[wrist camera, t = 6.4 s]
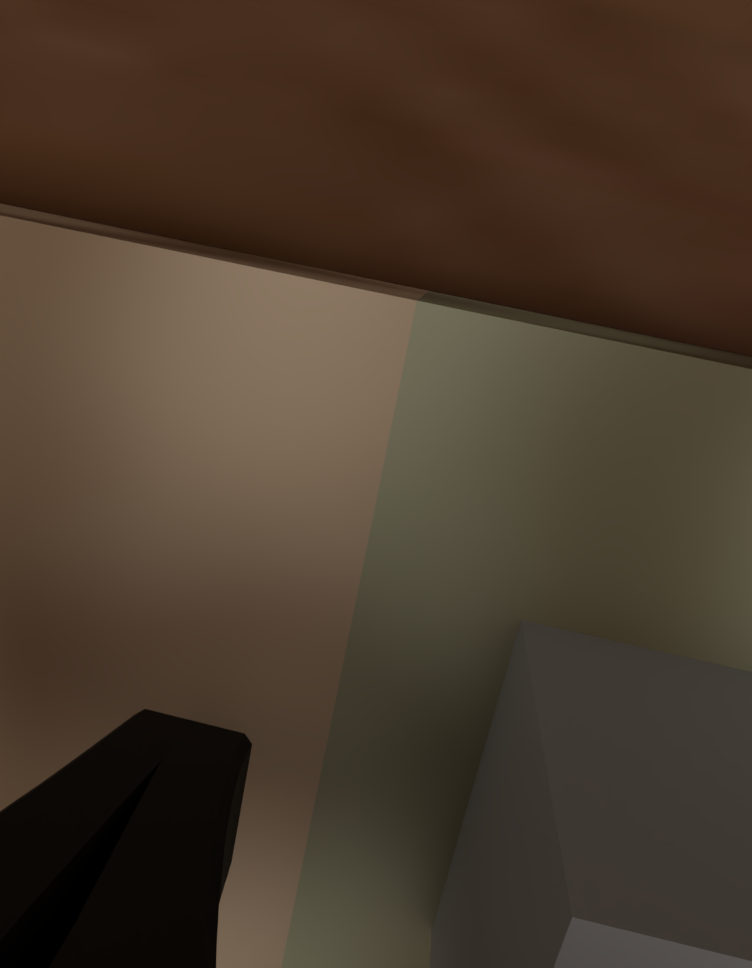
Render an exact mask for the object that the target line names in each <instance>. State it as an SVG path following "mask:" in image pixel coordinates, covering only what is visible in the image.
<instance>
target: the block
mask: <svg viewBox="0 0 752 968" xmlns="http://www.w3.org/2000/svg"><path fill="white" fill-rule="evenodd" d="M430 968H752V672H749V671H745V670H740V669H736V668H731V667H727V666H723V665H718V664H714V663H709V662H705V661H700V660H696V659H692V658H687V657H683V656H678V655H674V654H669V653H665V652H661V651H656V650H652V649H647V648H643V647H638V646H634V645H630V644H625V643H621V642H616V641H612V640H607V639H603V638H599V637H594V636H590V635H585V634H581V633H576V632H572V631H568V630H563V629H559V628H554V627H550V626H545V625H541V624H537V623H532V622H528V621H523V620H521V622H520V625H519V629H518V632H517V636H516V639H515V643H514V646H513V650H512V653H511V657H510V660H509V664H508V667H507V670H506V674H505V677H504V681H503V684H502V688H501V691H500V695H499V698H498V702H497V705H496V709H495V712H494V715H493V719H492V722H491V726H490V729H489V733H488V736H487V740H486V743H485V747H484V750H483V754H482V757H481V761H480V764H479V767H478V771H477V774H476V778H475V781H474V785H473V788H472V792H471V795H470V799H469V802H468V806H467V809H466V812H465V816H464V819H463V823H462V826H461V830H460V833H459V837H458V840H457V844H456V847H455V851H454V854H453V858H452V861H451V864H450V868H449V871H448V875H447V878H446V882H445V885H444V889H443V892H442V896H441V899H440V903H439V906H438V909H437V913H436V916H435V920H434V923H433V927H432V930H431V952H430Z"/></svg>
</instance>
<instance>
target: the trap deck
mask: <svg viewBox="0 0 752 968" xmlns="http://www.w3.org/2000/svg"><path fill="white" fill-rule="evenodd" d="M521 620H523V621H528V622H532V623H537V624H541V625H545V626H550V627H554V628H559V629H563V630H568V631H572V632H576V633H581V634H585V635H590V636H594V637H599V638H603V639H607V640H612V641H616V642H621V643H625V644H630V645H634V646H638V647H643V648H647V649H652V650H656V651H661V652H665V653H669V654H674V655H678V656H683V657H687V658H692V659H696V660H700V661H705V662H709V663H714V664H718V665H723V666H727V667H731V668H736V669H740V670H745V671H749V672H752V357H751V356H746V355H741V354H736V353H731V352H726V351H722V350H717V349H712V348H707V347H702V346H697V345H692V344H687V343H682V342H677V341H672V340H668V339H663V338H658V337H653V336H648V335H643V334H638V333H633V332H628V331H623V330H619V329H614V328H609V327H604V326H599V325H594V324H589V323H584V322H579V321H574V320H570V319H565V318H560V317H555V316H550V315H545V314H540V313H535V312H530V311H525V310H521V309H516V308H511V307H506V306H501V305H496V304H491V303H486V302H481V301H476V300H471V299H467V298H462V297H457V296H452V295H447V294H442V293H437V292H432V291H427V290H422V289H418V288H413V287H408V286H403V285H398V284H393V283H388V282H383V281H378V280H373V279H369V278H364V277H359V276H354V275H349V274H344V273H339V272H334V271H329V270H324V269H320V268H315V267H310V266H305V265H300V264H295V263H290V262H285V261H280V260H275V259H270V258H266V257H261V256H256V255H251V254H246V253H241V252H236V251H231V250H226V249H221V248H217V247H212V246H207V245H202V244H197V243H192V242H187V241H182V240H177V239H172V238H168V237H163V236H158V235H153V234H148V233H143V232H138V231H133V230H128V229H123V228H118V227H114V226H109V225H104V224H99V223H94V222H89V221H84V220H79V219H74V218H69V217H65V216H60V215H55V214H50V213H45V212H40V211H35V210H30V209H25V208H20V207H16V206H11V205H6V204H1V203H0V811H1V810H3V809H4V808H6V807H7V806H8V805H10V804H11V803H13V802H14V801H16V800H17V799H19V798H20V797H22V796H23V795H24V794H26V793H27V792H29V791H30V790H32V789H33V788H35V787H36V786H37V785H39V784H40V783H42V782H43V781H45V780H46V779H47V778H49V777H50V776H52V775H53V774H54V773H56V772H57V771H59V770H60V769H61V768H63V767H64V766H65V765H67V764H68V763H70V762H71V761H72V760H74V759H75V758H77V757H78V756H79V755H81V754H82V753H83V752H85V751H86V750H87V749H89V748H90V747H91V746H93V745H94V744H96V743H97V742H98V741H100V740H101V739H102V738H104V737H105V736H106V735H108V734H109V733H110V732H112V731H113V730H114V729H116V728H117V727H118V726H120V725H121V724H122V723H124V722H125V721H127V720H128V719H129V718H131V717H132V716H133V715H135V714H136V713H138V712H140V711H142V710H143V709H148V710H152V711H156V712H160V713H164V714H168V715H172V716H176V717H180V718H184V719H188V720H192V721H196V722H201V723H205V724H209V725H213V726H217V727H221V728H225V729H229V730H233V731H237V732H241V733H245V735H246V736H247V737H248V739H249V740H250V742H251V743H252V748H251V754H250V760H249V765H248V771H247V777H246V782H245V788H244V794H243V800H242V805H241V811H240V817H239V822H238V828H237V834H236V840H235V845H234V851H233V857H232V862H231V866H230V869H229V872H228V876H227V879H226V882H225V885H224V889H223V892H222V895H221V899H220V903H219V913H218V930H217V951H216V968H430V952H431V930H432V927H433V923H434V920H435V916H436V913H437V909H438V906H439V903H440V899H441V896H442V892H443V889H444V885H445V882H446V878H447V875H448V871H449V868H450V864H451V861H452V858H453V854H454V851H455V847H456V844H457V840H458V837H459V833H460V830H461V826H462V823H463V819H464V816H465V812H466V809H467V806H468V802H469V799H470V795H471V792H472V788H473V785H474V781H475V778H476V774H477V771H478V767H479V764H480V761H481V757H482V754H483V750H484V747H485V743H486V740H487V736H488V733H489V729H490V726H491V722H492V719H493V715H494V712H495V709H496V705H497V702H498V698H499V695H500V691H501V688H502V684H503V681H504V677H505V674H506V670H507V667H508V664H509V660H510V657H511V653H512V650H513V646H514V643H515V639H516V636H517V632H518V629H519V625H520V622H521Z"/></svg>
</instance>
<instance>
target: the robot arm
mask: <svg viewBox="0 0 752 968" xmlns="http://www.w3.org/2000/svg"><path fill="white" fill-rule="evenodd" d="M251 748H252V743H251V742H250V740H249V739H248V737H247V736H246V735H245V733H241V732H237V731H233V730H229V729H225V728H221V727H217V726H213V725H209V724H205V723H201V722H196V721H192V720H188V719H184V718H180V717H176V716H172V715H168V714H164V713H160V712H156V711H152V710H148V709H143V710H142V711H140V712H138V713H136V714H135V715H133V716H132V717H131V718H129V719H128V720H127V721H125V722H124V723H122V724H121V725H120V726H118V727H117V728H116V729H114V730H113V731H112V732H110V733H109V734H108V735H106V736H105V737H104V738H102V739H101V740H100V741H98V742H97V743H96V744H94V745H93V746H91V747H90V748H89V749H87V750H86V751H85V752H83V753H82V754H81V755H79V756H78V757H77V758H75V759H74V760H72V761H71V762H70V763H68V764H67V765H65V766H64V767H63V768H61V769H60V770H59V771H57V772H56V773H54V774H53V775H52V776H50V777H49V778H47V779H46V780H45V781H43V782H42V783H40V784H39V785H37V786H36V787H35V788H33V789H32V790H30V791H29V792H27V793H26V794H24V795H23V796H22V797H20V798H19V799H17V800H16V801H14V802H13V803H11V804H10V805H8V806H7V807H6V808H4V809H3V810H1V811H0V968H216V951H217V930H218V913H219V903H220V899H221V895H222V892H223V889H224V885H225V882H226V879H227V876H228V872H229V869H230V866H231V862H232V857H233V851H234V845H235V840H236V834H237V828H238V822H239V817H240V811H241V805H242V800H243V794H244V788H245V782H246V777H247V771H248V765H249V760H250V754H251Z"/></svg>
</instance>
